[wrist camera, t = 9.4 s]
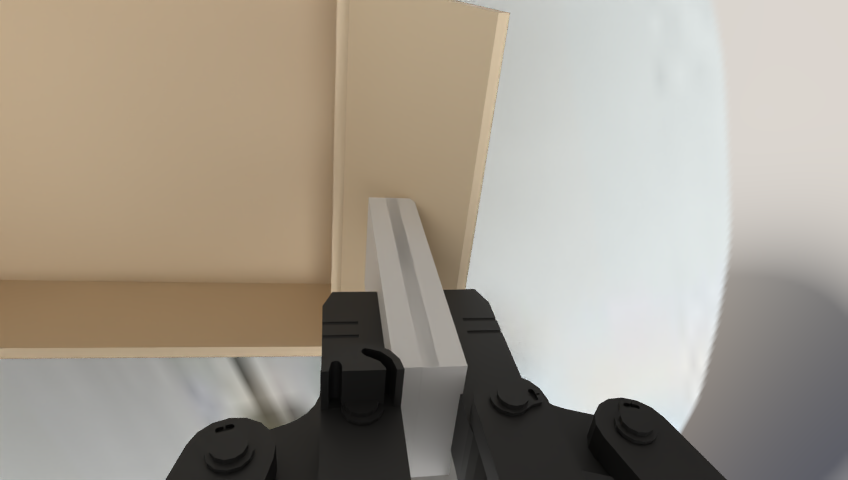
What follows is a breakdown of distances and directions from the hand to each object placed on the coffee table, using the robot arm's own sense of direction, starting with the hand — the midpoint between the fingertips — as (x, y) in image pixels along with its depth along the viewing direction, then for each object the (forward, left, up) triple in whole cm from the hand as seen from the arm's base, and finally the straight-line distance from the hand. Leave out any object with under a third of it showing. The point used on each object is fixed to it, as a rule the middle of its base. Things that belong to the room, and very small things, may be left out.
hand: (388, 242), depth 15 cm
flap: (0, 0, -1) cm, 1 cm away
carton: (-9, 0, -9) cm, 13 cm away
